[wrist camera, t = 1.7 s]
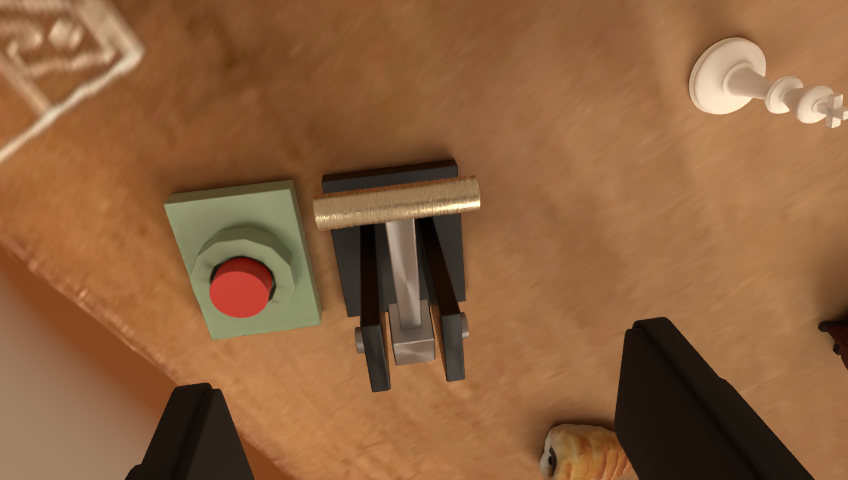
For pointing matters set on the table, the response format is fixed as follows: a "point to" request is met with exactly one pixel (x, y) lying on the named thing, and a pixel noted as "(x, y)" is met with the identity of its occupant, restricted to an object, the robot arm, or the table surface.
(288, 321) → the button box
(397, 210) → the lever
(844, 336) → the mate gourd
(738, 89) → the chess piece
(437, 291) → the bracket
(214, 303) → the button
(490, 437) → the table surface
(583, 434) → the pastry
